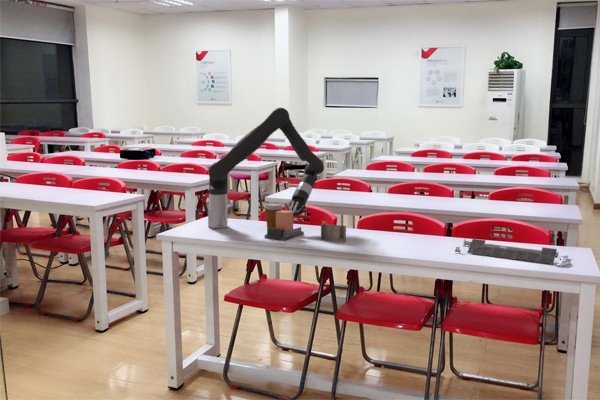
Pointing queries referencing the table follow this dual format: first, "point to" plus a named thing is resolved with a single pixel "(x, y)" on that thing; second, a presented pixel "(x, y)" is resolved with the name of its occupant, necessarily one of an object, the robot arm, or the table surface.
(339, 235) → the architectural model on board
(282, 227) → the salmon pink block
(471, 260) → the table surface
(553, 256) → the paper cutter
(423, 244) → the table surface
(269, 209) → the disposable coffee cup
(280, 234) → the rail base
